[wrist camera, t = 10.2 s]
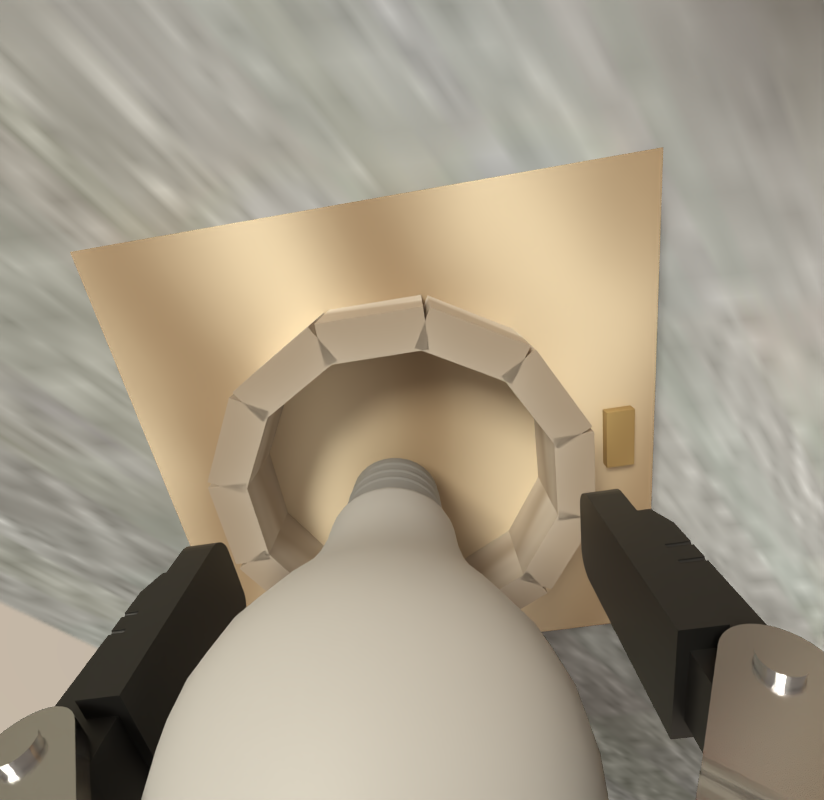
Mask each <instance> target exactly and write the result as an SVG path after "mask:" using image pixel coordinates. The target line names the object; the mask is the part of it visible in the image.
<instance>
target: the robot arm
mask: <svg viewBox="0 0 824 800" xmlns="http://www.w3.org/2000/svg"><path fill="white" fill-rule="evenodd" d="M580 521H581V550H582V558H583V563H584V567H585V571H586V574H587V577H588V579H589V581H590V583H591V585H592V587H593V589H594V591H595V593H596V595H597V597H598V599H599V601H600V603H601V605H602V607H603V609H604V611H605V612H606V614H607V616H608V618H609V620H610V622H611V624H612V626H613V628H614V630H615V632H616V634H617V636H618V638H619V640H620V642H621V644H622V646H623V648H624V649H625V651H626V653H627V655H628V657H629V659H630V661H631V663H632V665H633V667H634V669H635V671H636V673H637V675H638V677H639V679H640V681H641V683H642V685H643V686H644V688H645V690H646V692H647V694H648V696H649V698H650V700H651V702H652V704H653V706H654V708H655V710H656V712H657V714H658V716H659V718H660V720H661V722H662V723H663V725H664V727H665V729H666V731H667V733H668V735H669V737H670V739H678V738H687V737H694V738H695V740H696V742H697V744H698V745H699V747H700V749H701V751H702V753H703V757H702V764H701V771H700V773H699V779H698V786H697V793H696V800H824V652H823V651H822V650H821V649H819V648H818V647H816V646H815V645H814V644H812V643H810V642H809V641H807V640H805V639H804V638H802V637H800V636H798V635H795V634H793V633H791V632H788V631H786V630H783V629H780V628H777V627H773V626H769V625H766V624H765V622H764V621H763V620H762V619H761V618H760V617H759V616H758V615H757V614H756V613H755V611H754V610H753V609H752V608H751V607H750V606H749V605H748V604H747V603H746V602H745V600H744V599H743V598H742V597H741V596H740V595H739V594H738V593H737V592H736V591H735V589H734V588H733V587H732V586H731V585H730V584H729V583H728V582H727V581H726V580H725V578H724V577H723V576H722V575H721V574H720V573H719V572H718V571H717V570H716V569H715V567H714V566H713V565H712V564H711V563H710V562H709V561H708V560H707V561H706V560H705V558H704V555H703V554H702V553H701V552H700V551H699V550H698V549H697V548H696V547H695V545H691V542H690V540H689V539H688V538H687V537H686V536H685V534H684V533H683V532H682V531H681V530H680V529H679V528H678V527H677V526H676V525H675V523H674V522H672V521H670V520H668V519H667V518H665V517H663V516H661V515H660V514H658V513H656V512H655V511H653V510H651V509H644V510H636V509H635V507H634V506H633V505H632V504H631V502H630V501H629V500H628V499H627V497H626V496H625V495H624V494H623V493H622V492H621V490H619V489H611V490H603V491H596V492H589V493H582V494H581V497H580ZM245 608H246V598H245V594H244V591H243V588H242V585H241V583H240V580H239V577H238V575H237V572H236V569H235V567H234V564H233V561H232V559H231V556H230V553H229V551H228V548H227V547H226V545H225V544H224V543H222V542H218V543H210V544H203V545H196V546H189V547H186V548H185V549H183V550H182V552H181V553H180V554H179V556H178V557H177V559H176V560H175V561H174V563H173V564H172V566H171V567H170V568H169V570H168V571H167V573H163V574H161V575H160V576H159V577H158V578H157V579H155V580H154V581H153V582H152V583H151V584H150V585H148V586H147V587H146V588H145V589H144V590H143V591H141V592H140V594H139V595H138V596H137V598H136V599H135V600H134V602H133V603H132V604H131V606H130V607H129V608H128V610H127V611H126V612H125V617H122V618H121V619H120V620H119V622H118V623H117V624H116V626H115V627H114V628H113V630H112V634H111V635H108V636H107V638H106V639H105V640H104V642H103V643H102V644H101V646H100V647H99V648H98V650H97V651H96V652H95V654H94V655H93V656H92V658H91V659H90V660H89V662H88V663H87V664H86V666H85V667H84V668H83V670H82V671H81V672H80V674H79V675H78V676H77V678H76V679H75V680H74V682H73V683H72V684H71V686H70V687H69V688H68V690H67V691H66V692H65V693H64V695H63V696H62V697H61V699H60V700H59V701H58V703H57V704H56V706H55V707H50V708H46V709H42V710H40V711H37V712H35V713H32V714H31V715H29V716H27V717H25V718H23V719H21V720H20V721H18V722H16V723H15V724H13V725H12V726H11V727H9V728H8V729H6V730H5V731H4V732H2V733H1V734H0V800H141V798H142V795H143V792H144V788H145V785H146V781H147V778H148V775H149V771H150V768H151V765H152V761H153V758H154V754H155V751H156V748H157V745H158V742H159V740H160V737H161V734H162V732H163V729H164V726H165V723H166V721H167V718H168V716H169V714H170V712H171V710H172V708H173V706H174V704H175V702H176V700H177V698H178V696H179V694H180V692H181V690H182V688H183V686H184V684H185V682H186V680H187V678H188V677H189V676H190V674H191V673H192V672H193V670H194V669H195V668H196V666H197V665H198V664H199V662H200V661H201V660H202V658H203V657H204V656H205V654H206V653H207V652H208V650H209V649H210V648H211V647H212V645H213V644H214V643H215V641H216V640H217V639H218V638H219V636H220V635H221V634H222V633H223V631H224V630H225V629H226V627H227V626H228V625H229V624H230V622H231V621H232V620H233V619H234V617H235V616H237V615H238V614H239V613H240V612H241V611H243V610H244V609H245Z"/></svg>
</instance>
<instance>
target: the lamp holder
mask: <svg viewBox="0 0 824 800" xmlns="http://www.w3.org/2000/svg"><path fill="white" fill-rule="evenodd" d="M662 166H663V148H657V149H651V150H646V151H640V152H634V153H629V154H623V155H617V156H612V157H606V158H600V159H595V160H589V161H583V162H578V163H572V164H566V165H561V166H555V167H549V168H544V169H538V170H532V171H527V172H521V173H515V174H510V175H504V176H498V177H493V178H487V179H481V180H476V181H470V182H464V183H459V184H453V185H447V186H442V187H436V188H430V189H425V190H419V191H413V192H408V193H402V194H396V195H391V196H385V197H379V198H374V199H368V200H362V201H357V202H351V203H345V204H340V205H334V206H328V207H323V208H317V209H311V210H306V211H300V212H294V213H289V214H283V215H277V216H272V217H266V218H260V219H255V220H249V221H243V222H238V223H232V224H226V225H221V226H215V227H209V228H204V229H198V230H192V231H187V232H181V233H175V234H170V235H164V236H158V237H153V238H147V239H142V240H136V241H130V242H125V243H119V244H113V245H108V246H102V247H96V248H91V249H85V250H79V251H74V252H70V253H71V255H72V258H73V260H74V263H75V265H76V268H77V270H78V272H79V275H80V277H81V280H82V282H83V285H84V287H85V289H86V292H87V294H88V297H89V299H90V302H91V304H92V307H93V309H94V311H95V314H96V316H97V319H98V321H99V324H100V326H101V329H102V331H103V333H104V336H105V338H106V341H107V343H108V346H109V348H110V351H111V353H112V355H113V358H114V360H115V363H116V365H117V368H118V370H119V372H120V375H121V377H122V380H123V382H124V385H125V387H126V390H127V392H128V394H129V397H130V399H131V402H132V404H133V407H134V409H135V412H136V414H137V416H138V419H139V421H140V424H141V426H142V429H143V431H144V434H145V436H146V438H147V441H148V443H149V446H150V448H151V451H152V453H153V455H154V458H155V460H156V463H157V465H158V468H159V470H160V473H161V475H162V477H163V480H164V482H165V485H166V487H167V490H168V492H169V495H170V497H171V499H172V502H173V504H174V507H175V509H176V512H177V514H178V517H179V519H180V521H181V524H182V526H183V529H184V531H185V534H186V536H187V538H188V541H189V543H190V546H196V545H203V544H210V543H218V542H222V543H224V544H225V545H226V547H227V548H228V551H229V553H230V556H231V559H232V561H233V564H234V567H235V569H236V572H237V575H238V577H239V580H240V583H241V585H242V588H243V591H244V594H245V598H246V607H247V606H249V605H250V604H251V603H252V602H253V601H255V600H256V599H257V598H258V597H260V596H261V595H262V594H263V593H265V592H266V591H267V590H269V589H270V588H271V587H273V586H274V585H275V584H276V583H278V582H279V581H280V580H282V579H283V578H284V577H286V576H287V575H288V574H290V573H291V572H292V571H293V570H295V569H297V568H298V567H300V566H302V565H304V564H305V563H307V562H309V561H310V560H312V559H314V558H315V557H316V556H317V554H318V553H319V552H320V551H321V550H322V548H323V546H324V545H325V543H326V541H327V540H328V537H329V534H330V532H331V529H332V526H333V524H334V522H335V520H336V518H337V516H338V515H339V514H340V512H341V511H342V510H343V508H344V507H345V506H346V505H347V504H348V502H349V498H350V495H351V493H352V491H353V488H354V485H355V483H356V480H357V478H358V477H359V475H360V474H361V473H362V471H363V470H365V469H366V468H367V467H368V466H370V465H371V464H373V463H375V462H377V461H380V460H383V459H389V458H402V459H407V460H411V461H413V462H416V463H418V464H419V465H421V466H422V467H424V468H425V469H426V470H427V471H428V472H429V473H430V474H431V476H432V477H433V479H434V481H435V483H436V485H437V490H438V492H439V496H440V501H441V506H442V509H443V510H444V512H445V513H446V515H447V516H448V517H449V519H450V521H451V523H452V525H453V528H454V531H455V535H456V539H457V543H458V546H459V549H460V551H461V553H462V555H463V557H464V559H465V560H466V561H467V563H468V564H469V565H470V566H472V567H473V568H474V569H476V570H477V571H479V572H480V573H481V574H483V575H484V576H485V577H486V578H487V579H488V580H489V581H490V582H492V583H493V584H494V585H495V586H496V587H497V588H498V589H499V590H500V591H502V592H503V593H504V594H505V595H506V596H507V597H508V598H509V599H510V600H511V601H512V602H513V603H514V604H515V605H516V606H518V607H519V608H520V609H521V610H522V611H523V612H524V613H525V614H526V615H527V616H528V617H529V618H530V619H531V620H532V621H533V622H535V624H536V625H537V627H538V628H539V630H540V631H541V632H544V631H552V630H560V629H569V628H577V627H585V626H593V625H602V624H610V623H611V622H610V620H609V618H608V616H607V614H606V612H605V611H604V609H603V607H602V605H601V603H600V601H599V599H598V597H597V595H596V593H595V591H594V589H593V587H592V585H591V583H590V581H589V579H588V577H587V574H586V571H585V567H584V563H583V558H582V550H581V521H580V497H581V494H582V493H589V492H596V491H603V490H611V489H619V490H621V492H622V493H623V494H624V495H625V496H626V497H627V499H628V500H629V501H630V502H631V504H632V505H633V506H634V507H635V509H636V510H644V509H651V493H652V463H653V434H654V404H655V374H656V345H657V315H658V285H659V256H660V226H661V196H662Z"/></svg>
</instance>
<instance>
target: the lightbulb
mask: <svg viewBox="0 0 824 800" xmlns="http://www.w3.org/2000/svg"><path fill="white" fill-rule="evenodd" d="M141 800H609V799H608V793H607V788H606V782H605V777H604V771H603V765H602V760H601V754H600V751H599V748H598V746H597V743H596V740H595V737H594V734H593V731H592V729H591V726H590V723H589V720H588V718H587V715H586V712H585V709H584V707H583V704H582V701H581V698H580V696H579V693H578V690H577V688H576V685H575V683H574V682H573V680H572V678H571V677H570V675H569V674H568V672H567V671H566V669H565V667H564V666H563V664H562V663H561V661H560V659H559V658H558V656H557V655H556V653H555V651H554V650H553V648H552V647H551V645H550V644H549V642H548V641H547V640H546V638H545V637H544V635H543V634H542V632H541V631H540V630H539V628H538V627H537V625H536V624H535V622H533V621H532V620H531V619H530V618H529V617H528V616H527V615H526V614H525V613H524V612H523V611H522V610H521V609H520V608H519V607H518V606H516V605H515V604H514V603H513V602H512V601H511V600H510V599H509V598H508V597H507V596H506V595H505V594H504V593H503V592H502V591H500V590H499V589H498V588H497V587H496V586H495V585H494V584H493V583H492V582H490V581H489V580H488V579H487V578H486V577H485V576H484V575H483V574H481V573H480V572H479V571H477V570H476V569H474V568H473V567H472V566H470V565H469V564H468V563H467V561H466V560H465V559H464V557H463V555H462V553H461V551H460V549H459V546H458V543H457V539H456V535H455V531H454V528H453V525H452V523H451V521H450V519H449V517H448V516H447V515H446V513H445V512H444V510H443V509H442V506H441V501H440V496H439V492H438V490H437V485H436V483H435V481H434V479H433V477H432V476H431V474H430V473H429V472H428V471H427V470H426V469H425V468H424V467H422V466H421V465H419V464H418V463H416V462H413V461H411V460H407V459H402V458H389V459H383V460H380V461H377V462H375V463H373V464H371V465H370V466H368V467H367V468H366V469H365V470H363V471H362V473H361V474H360V475H359V477H358V478H357V480H356V483H355V485H354V488H353V491H352V493H351V495H350V498H349V502H348V504H347V505H346V506H345V507H344V508H343V510H342V511H341V512H340V514H339V515H338V516H337V518H336V520H335V522H334V524H333V526H332V529H331V532H330V534H329V537H328V540H327V541H326V543H325V545H324V546H323V548H322V550H321V551H320V552H319V553H318V554H317V556H316V557H315V558H314V559H312V560H310V561H309V562H307V563H305V564H304V565H302V566H300V567H298V568H297V569H295V570H293V571H292V572H291V573H290V574H288V575H287V576H286V577H284V578H283V579H282V580H280V581H279V582H278V583H276V584H275V585H274V586H273V587H271V588H270V589H269V590H267V591H266V592H265V593H263V594H262V595H261V596H260V597H258V598H257V599H256V600H255V601H253V602H252V603H251V604H250V605H249V606H247V607H246V608H245V609H244V610H243V611H241V612H240V613H239V614H238V615H237V616H235V617H234V619H233V620H232V621H231V622H230V624H229V625H228V626H227V627H226V629H225V630H224V631H223V633H222V634H221V635H220V636H219V638H218V639H217V640H216V641H215V643H214V644H213V645H212V647H211V648H210V649H209V650H208V652H207V653H206V654H205V656H204V657H203V658H202V660H201V661H200V662H199V664H198V665H197V666H196V668H195V669H194V670H193V672H192V673H191V674H190V676H189V677H188V678H187V680H186V682H185V684H184V686H183V688H182V690H181V692H180V694H179V696H178V698H177V700H176V702H175V704H174V706H173V708H172V710H171V712H170V714H169V716H168V718H167V721H166V723H165V726H164V729H163V732H162V734H161V737H160V740H159V742H158V745H157V748H156V751H155V754H154V758H153V761H152V765H151V768H150V771H149V775H148V778H147V781H146V785H145V788H144V792H143V795H142V798H141Z"/></svg>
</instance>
